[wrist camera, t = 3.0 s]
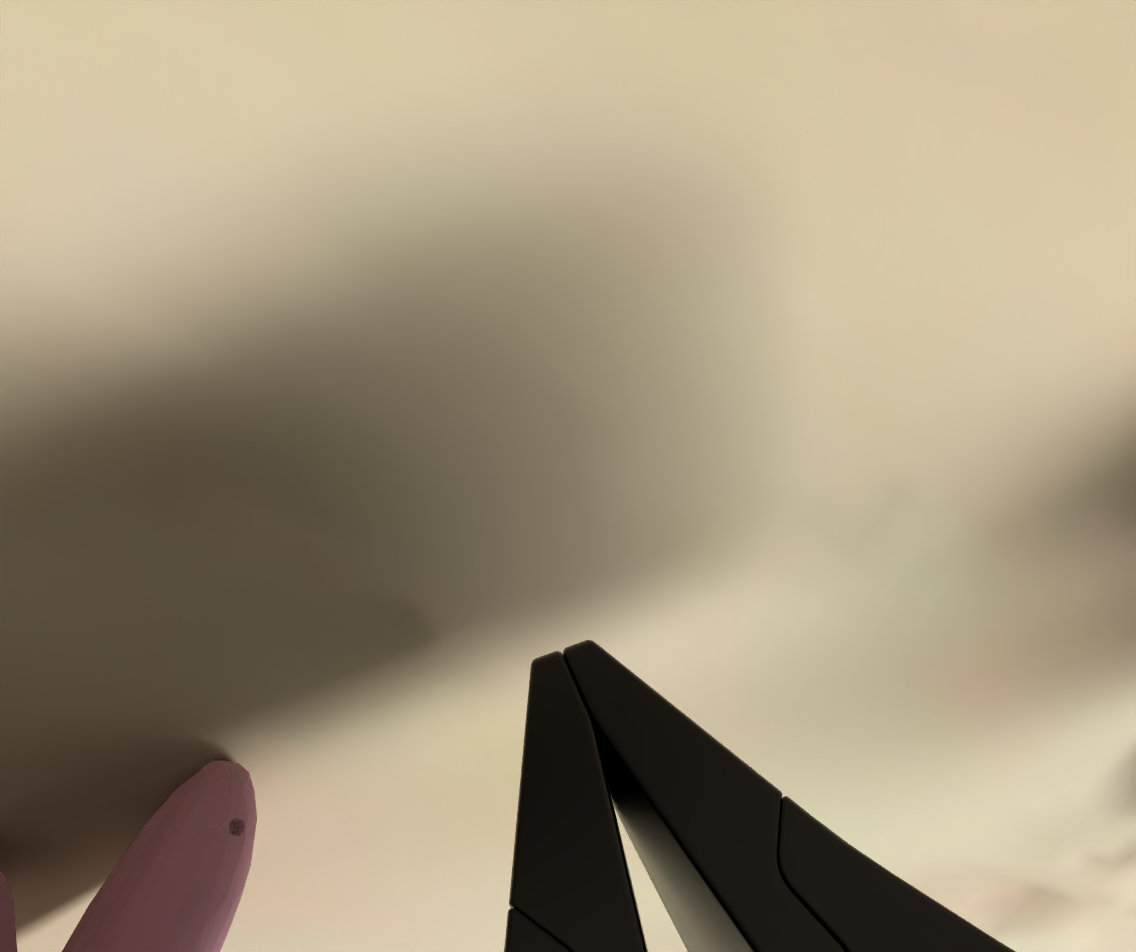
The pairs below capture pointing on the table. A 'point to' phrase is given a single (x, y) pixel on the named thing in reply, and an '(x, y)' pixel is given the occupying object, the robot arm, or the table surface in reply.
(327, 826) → the table surface
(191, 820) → the video game controller
